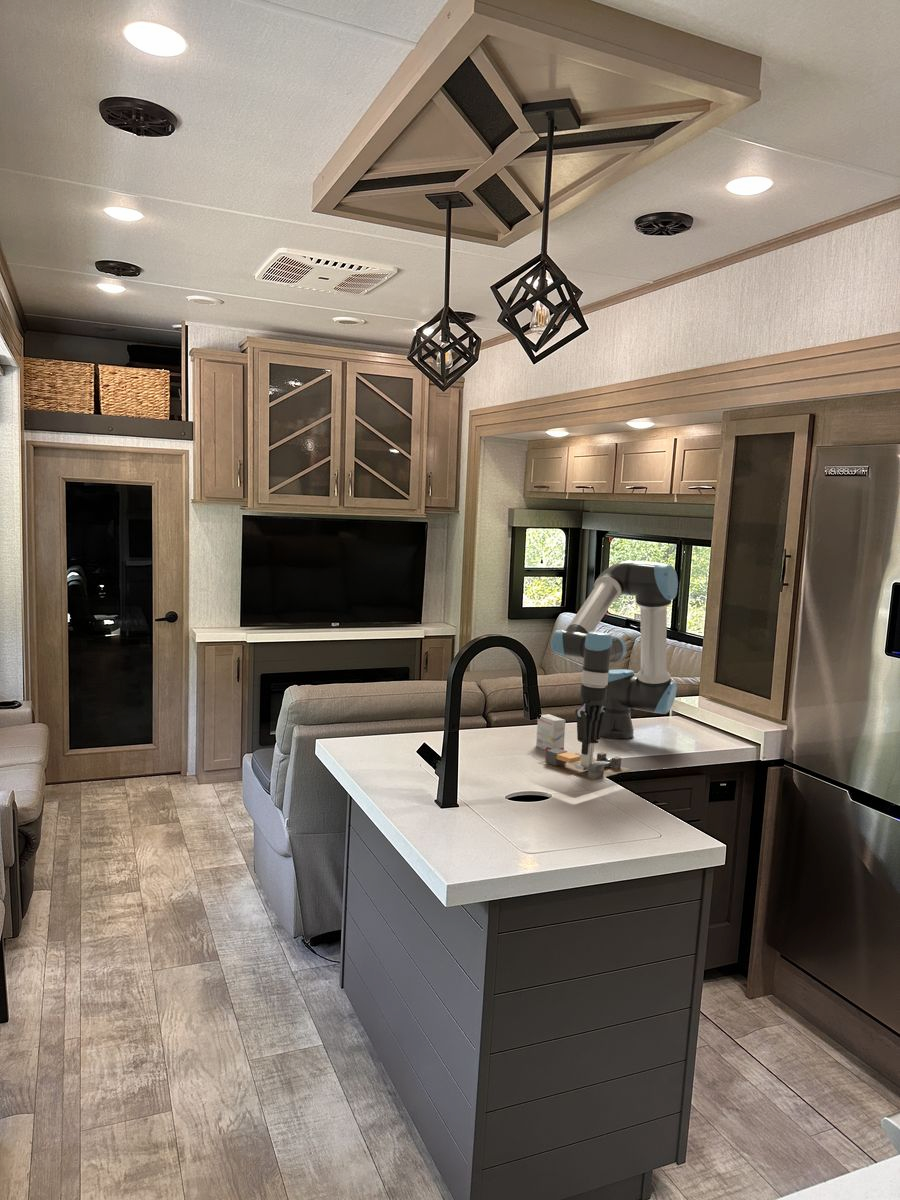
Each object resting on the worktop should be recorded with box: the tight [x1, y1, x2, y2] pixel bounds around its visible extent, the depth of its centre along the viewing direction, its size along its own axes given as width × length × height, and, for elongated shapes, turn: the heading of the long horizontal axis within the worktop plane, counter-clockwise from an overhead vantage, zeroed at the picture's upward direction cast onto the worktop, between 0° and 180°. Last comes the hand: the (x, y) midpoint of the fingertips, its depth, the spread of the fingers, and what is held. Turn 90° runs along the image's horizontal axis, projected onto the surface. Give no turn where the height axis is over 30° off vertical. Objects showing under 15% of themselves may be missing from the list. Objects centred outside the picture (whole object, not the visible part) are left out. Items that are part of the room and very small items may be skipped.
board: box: [537, 751, 631, 782], centre depth 250 cm, size 20×20×5 cm
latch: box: [545, 748, 581, 766], centre depth 248 cm, size 5×9×4 cm, turn 45°
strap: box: [575, 757, 612, 770], centre depth 247 cm, size 16×3×2 cm, turn 135°
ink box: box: [535, 713, 566, 751], centre depth 266 cm, size 9×5×12 cm, turn 33°
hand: (586, 764), depth 243 cm, fingers closed, pressing on strap
